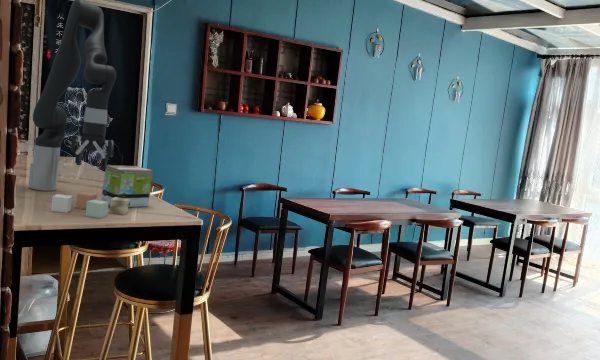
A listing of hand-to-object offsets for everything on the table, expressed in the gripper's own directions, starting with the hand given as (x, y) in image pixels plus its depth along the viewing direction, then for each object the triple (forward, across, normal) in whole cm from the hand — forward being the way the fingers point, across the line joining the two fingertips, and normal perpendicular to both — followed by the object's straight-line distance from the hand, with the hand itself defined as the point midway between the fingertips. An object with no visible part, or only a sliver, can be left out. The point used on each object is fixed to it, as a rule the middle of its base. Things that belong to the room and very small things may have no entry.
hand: (90, 167), depth 183 cm
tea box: (+15, +9, +15) cm, 23 cm away
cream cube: (+15, -4, -10) cm, 18 cm away
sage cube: (+15, +8, -10) cm, 20 cm away
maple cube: (+15, +12, 0) cm, 19 cm away
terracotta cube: (+15, 0, 0) cm, 15 cm away
